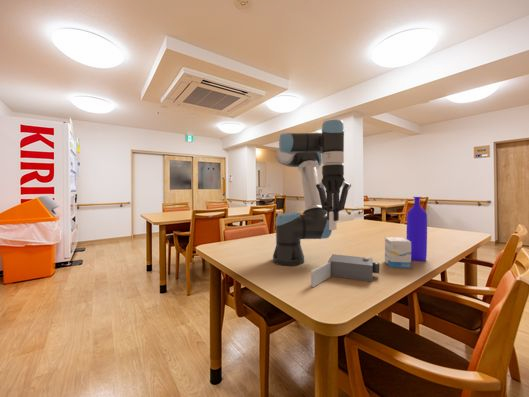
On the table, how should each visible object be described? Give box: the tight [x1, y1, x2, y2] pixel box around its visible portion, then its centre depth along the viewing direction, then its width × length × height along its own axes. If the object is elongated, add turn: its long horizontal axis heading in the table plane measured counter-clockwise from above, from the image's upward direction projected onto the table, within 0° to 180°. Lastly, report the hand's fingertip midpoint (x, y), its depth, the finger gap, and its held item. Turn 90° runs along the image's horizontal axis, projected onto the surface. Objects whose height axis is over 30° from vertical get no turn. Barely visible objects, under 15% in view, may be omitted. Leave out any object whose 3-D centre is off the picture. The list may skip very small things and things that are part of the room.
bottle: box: [406, 196, 428, 262], centre depth 113 cm, size 8×8×30 cm
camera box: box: [327, 253, 380, 282], centre depth 95 cm, size 18×10×7 cm, turn 65°
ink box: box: [384, 236, 412, 269], centre depth 106 cm, size 9×8×12 cm
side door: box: [310, 261, 332, 288], centre depth 89 cm, size 14×2×6 cm, turn 138°
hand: (332, 229), depth 87 cm, fingers closed
